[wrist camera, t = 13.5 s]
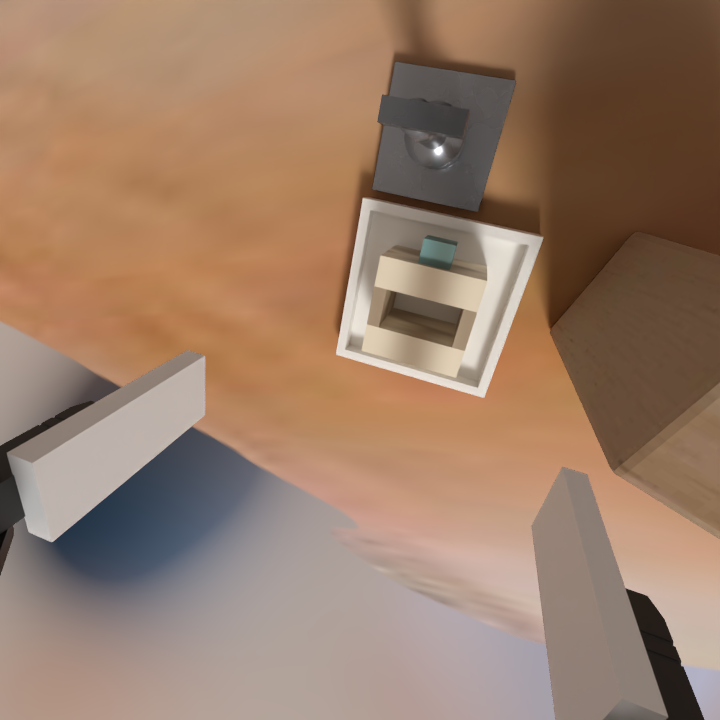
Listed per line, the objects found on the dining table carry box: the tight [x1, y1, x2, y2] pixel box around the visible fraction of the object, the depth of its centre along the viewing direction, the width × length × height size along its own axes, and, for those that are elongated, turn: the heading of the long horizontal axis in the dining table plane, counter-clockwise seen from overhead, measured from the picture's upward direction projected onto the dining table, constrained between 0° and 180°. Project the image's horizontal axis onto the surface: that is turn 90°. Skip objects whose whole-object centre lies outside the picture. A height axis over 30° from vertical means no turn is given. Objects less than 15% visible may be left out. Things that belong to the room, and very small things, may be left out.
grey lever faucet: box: [372, 62, 516, 212], centre depth 26 cm, size 9×9×14 cm
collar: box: [361, 235, 487, 378], centre depth 34 cm, size 8×10×6 cm
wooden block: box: [550, 232, 720, 539], centre depth 24 cm, size 10×10×20 cm
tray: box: [336, 197, 544, 398], centre depth 36 cm, size 15×15×2 cm
